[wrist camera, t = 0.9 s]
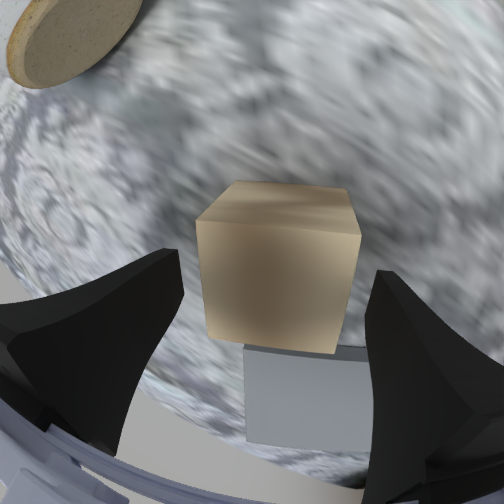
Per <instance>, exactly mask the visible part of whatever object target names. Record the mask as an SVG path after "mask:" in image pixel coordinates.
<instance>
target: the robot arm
mask: <svg viewBox="0 0 504 504" xmlns="http://www.w3.org/2000/svg"><path fill="white" fill-rule="evenodd" d="M183 296H184V288H183V282H182V275H181V268H180V261H179V254H178V250H176V249H167V248H163V249H160V250H157V251H155V252H152V253H150V254H148V255H146V256H144V257H142V258H140V259H138V260H136V261H134V262H132V263H130V264H128V265H126V266H124V267H122V268H120V269H117V270H115V271H113V272H111V273H109V274H107V275H104V276H102V277H100V278H98V279H96V280H94V281H91V282H89V283H86V284H84V285H81V286H78V287H76V288H73V289H70V290H67V291H64V292H60V293H57V294H53V295H50V296H47V297H43V298H38V299H34V300H29V301H23V302H17V303H9V304H0V481H1V482H2V484H3V485H4V486H5V487H6V488H7V491H6V493H5V495H4V496H3V498H2V500H1V502H0V504H129V499H128V498H126V497H125V496H123V495H121V494H119V493H117V492H116V491H114V490H112V489H111V488H109V487H108V486H106V485H105V484H104V483H102V482H101V481H99V480H98V479H97V478H95V477H93V476H92V475H90V474H88V473H86V472H85V471H83V470H82V468H81V466H80V465H82V466H84V467H86V468H88V469H89V470H91V471H93V472H95V473H97V474H98V475H100V476H103V477H104V478H106V479H108V480H110V481H112V482H114V483H117V484H118V485H121V486H123V487H125V488H127V489H129V490H132V491H134V492H136V493H139V494H141V495H143V496H146V497H149V498H151V499H154V500H156V501H159V502H162V503H165V504H274V503H266V502H259V501H253V500H247V499H242V498H236V497H232V496H227V495H222V494H217V493H213V492H210V491H206V490H202V489H198V488H195V487H191V486H188V485H184V484H181V483H178V482H175V481H171V480H169V479H166V478H163V477H160V476H157V475H154V474H152V473H149V472H147V471H144V470H142V469H139V468H136V467H134V466H132V465H129V464H127V463H125V462H123V461H120V460H118V459H116V458H114V456H116V453H117V448H118V444H119V440H120V436H121V432H122V428H123V425H124V421H125V418H126V415H127V412H128V409H129V406H130V403H131V400H132V397H133V395H134V392H135V390H136V387H137V385H138V382H139V380H140V378H141V375H142V373H143V371H144V369H145V366H146V364H147V363H148V361H149V359H150V357H151V355H152V354H153V352H154V350H155V349H156V347H157V345H158V344H159V342H160V340H161V339H162V337H163V335H164V334H165V332H166V331H167V329H168V327H169V326H170V324H171V322H172V321H173V319H174V317H175V315H176V313H177V311H178V309H179V306H180V304H181V301H182V299H183ZM365 339H366V346H367V353H368V360H369V367H370V374H371V382H372V390H373V429H372V443H371V453H370V461H369V468H368V475H367V480H366V485H365V490H364V495H363V499H362V503H361V504H504V366H503V365H501V364H499V363H497V362H496V361H494V360H493V359H491V358H490V357H488V356H487V355H485V354H484V353H482V352H481V351H480V350H478V349H477V348H475V347H474V346H472V345H471V344H470V343H469V342H467V341H466V340H465V339H464V338H462V337H461V336H460V335H459V334H457V333H456V332H455V331H454V330H453V329H451V328H450V327H449V326H448V325H447V324H446V323H445V322H444V321H443V320H442V319H441V318H439V317H438V316H437V315H436V314H435V313H434V312H433V311H432V310H431V309H430V308H429V307H428V306H427V305H426V304H425V303H424V302H423V301H422V300H421V299H420V298H419V297H418V296H417V295H416V293H415V292H414V291H413V290H412V289H411V288H410V287H409V286H408V285H407V284H406V283H405V282H404V281H403V280H402V279H401V278H400V277H399V276H398V275H397V274H396V273H394V272H393V271H384V270H377V272H376V276H375V280H374V284H373V288H372V291H371V295H370V299H369V302H368V306H367V309H366V313H365Z"/></svg>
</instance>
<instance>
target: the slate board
mask: <svg viewBox="0 0 504 504" xmlns="http://www.w3.org/2000/svg"><path fill="white" fill-rule="evenodd" d="M243 360H244V391H245V419H246V442H251V443H257V444H263V445H270V446H277V447H285V448H294V449H304V450H316V451H334V452H371V443H372V429H373V390H372V382H371V374H370V367H369V360H368V353H367V348H361V347H347V346H336V350H335V353H334V354H326V353H315V352H305V351H296V350H288V349H280V348H272V347H264V346H257V345H251V344H245V345H244V348H243Z"/></svg>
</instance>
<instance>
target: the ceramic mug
mask: <svg viewBox="0 0 504 504" xmlns="http://www.w3.org/2000/svg"><path fill="white" fill-rule="evenodd" d="M142 1H143V0H0V70H1V71H2V72H3V73H4V74H5V75H6V76H7V77H9V78H10V79H12V80H13V81H14V82H16V83H17V84H19V85H21V86H23V87H26V88H31V89H43V88H49V87H52V86H56V85H59V84H62V83H64V82H66V81H68V80H70V79H72V78H74V77H76V76H78V75H79V74H81V73H83V72H84V71H86V70H87V69H89V68H90V67H92V66H93V65H94V64H95V63H97V62H98V61H99V60H101V59H102V58H103V57H104V56H105V55H106V54H107V53H108V52H109V51H110V50H111V49H112V48H113V47H114V46H115V45H116V44H117V43H118V42H119V41H120V40H121V38H122V37H123V36H124V35H125V33H126V32H127V30H128V29H129V27H130V26H131V25H132V23H133V22H134V20H135V18H136V16H137V14H138V12H139V10H140V7H141V4H142Z"/></svg>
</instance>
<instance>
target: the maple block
mask: <svg viewBox="0 0 504 504" xmlns="http://www.w3.org/2000/svg"><path fill="white" fill-rule="evenodd" d="M195 222H196V233H197V244H198V255H199V265H200V274H201V283H202V292H203V301H204V309H205V317H206V324H207V332H208V337H209V338H214V339H220V340H226V341H232V342H238V343H244V344H251V345H257V346H264V347H272V348H280V349H288V350H296V351H305V352H315V353H326V354H334V353H335V350H336V346H337V343H338V339H339V335H340V332H341V328H342V324H343V320H344V316H345V312H346V308H347V304H348V300H349V296H350V291H351V287H352V282H353V278H354V273H355V268H356V263H357V258H358V253H359V248H360V242H361V237H362V234H361V231H360V228H359V225H358V222H357V219H356V216H355V213H354V210H353V207H352V204H351V201H350V198H349V195H348V192H347V190H346V189H342V188H333V187H323V186H312V185H301V184H288V183H274V182H258V181H239V180H236V181H235V182H234V183H233V184H232V185H230V186H229V187H228V188H227V189H226V190H225V191H224V192H223V193H222V194H221V195H220V196H219V197H218V198H217V199H216V200H215V201H214V202H213V203H212V204H211V205H210V206H209V207H208V208H207V209H206V210H205V211H204V212H203V213H202V214H201V215H200V216H199V217H198V218H197V219H196V220H195Z"/></svg>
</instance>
